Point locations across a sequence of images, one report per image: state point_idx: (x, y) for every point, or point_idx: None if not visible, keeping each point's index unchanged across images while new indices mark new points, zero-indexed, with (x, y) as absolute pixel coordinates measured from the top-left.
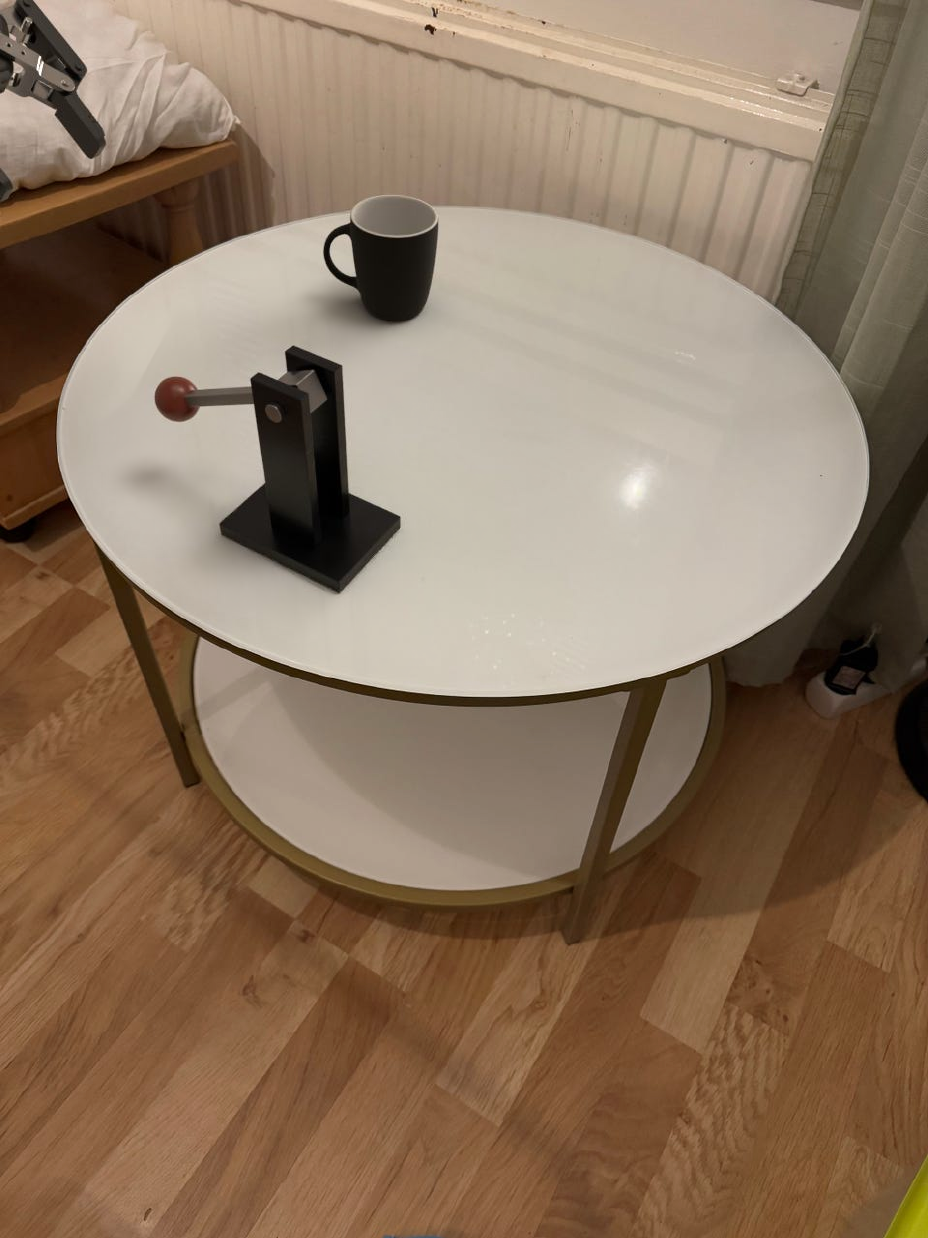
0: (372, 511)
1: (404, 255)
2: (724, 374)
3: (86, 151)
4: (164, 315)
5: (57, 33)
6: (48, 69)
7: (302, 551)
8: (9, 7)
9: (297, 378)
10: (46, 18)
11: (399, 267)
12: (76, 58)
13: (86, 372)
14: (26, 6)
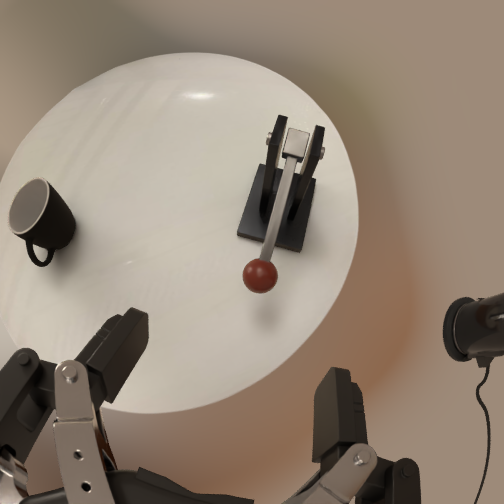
0: (261, 176)
1: (55, 194)
2: (117, 88)
3: (143, 346)
4: None
5: None
6: (66, 406)
7: (303, 200)
8: None
9: (300, 136)
10: None
11: (60, 201)
12: (11, 365)
13: (175, 408)
14: None
